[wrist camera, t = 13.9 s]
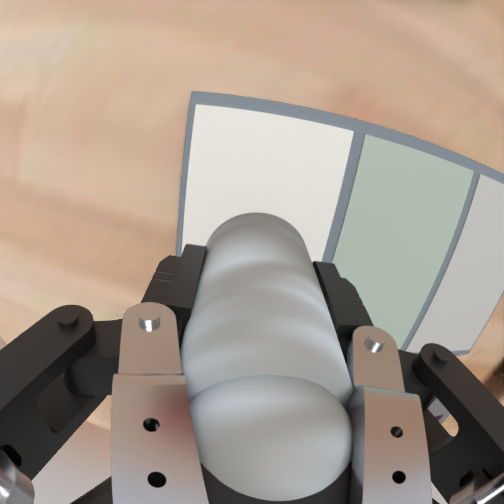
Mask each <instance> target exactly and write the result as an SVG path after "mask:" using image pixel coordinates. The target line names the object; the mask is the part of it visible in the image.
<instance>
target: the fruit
mask: <svg viewBox="0 0 504 504" xmlns="http://www.w3.org/2000/svg"><path fill="white" fill-rule="evenodd" d="M494 376H502V377H503V380H504V371H503V372H502V373H500V374H494ZM503 384H504V382H503Z"/></svg>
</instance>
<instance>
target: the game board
mask: <svg viewBox="0 0 504 504" xmlns="http://www.w3.org/2000/svg"><path fill="white" fill-rule="evenodd" d="M253 212H260V213H268V214H272V215H275V216H278V217H280V218H282V219H284V220H286V221H287V222H289V223H290V224H291V225H292V226H294V227H295V228H296V230H297V231H298V232H299V233H300V235H301V236H302V238H303V240H304V242H305V245H306V248H307V250H308V253H309V256H310V259H311V261H312V263H313V261H320V262H328V263H334V264H335V266H336V268H337V270H338V272H339V274H340V276H341V278H346V279H347V280H348V281H349V282H351V283H352V284H353V285H354V286H355V288H356V290H357V292H358V294H359V297H360V298H361V300H362V302H363V305H364V306H365V308H366V310H367V312H368V314H369V316H370V318H371V321H372V323H373V325H374V327H378V328H380V329H382V330H384V331H386V332H387V333H388V334H390V335H391V336H392V337H393V339H394V340H395V342H396V344H397V349H400V350H403V351H407V352H411V353H415V354H418V353H419V352H420V350H421V348H422V347H423V346H424V345H425V344H428V343H435V344H439V345H442V346H444V347H445V348H447V349H448V350H450V351H451V352H452V353H453V354H454V355H463V354H468V353H469V352H470V350H471V349H472V347H473V345H474V344H475V342H476V341H477V339H478V337H479V336H480V334H481V333H482V331H483V329H484V327H485V326H486V324H487V322H488V321H489V319H490V317H491V315H492V314H493V312H494V310H495V308H496V306H497V304H498V303H499V301H500V299H501V297H502V295H503V293H504V174H502V173H500V172H498V171H496V170H494V169H492V168H490V167H488V166H486V165H483V164H481V163H479V162H477V161H474V160H472V159H470V158H468V157H465V156H463V155H460V154H458V153H456V152H453V151H451V150H448V149H446V148H443V147H440V146H438V145H435V144H432V143H430V142H427V141H424V140H421V139H419V138H416V137H413V136H410V135H407V134H404V133H401V132H398V131H395V130H392V129H388V128H385V127H382V126H379V125H375V124H372V123H368V122H365V121H361V120H357V119H354V118H350V117H346V116H342V115H338V114H334V113H330V112H325V111H321V110H317V109H312V108H307V107H302V106H297V105H292V104H287V103H281V102H276V101H270V100H264V99H257V98H251V97H244V96H236V95H228V94H219V93H209V92H198V91H191V98H190V106H189V113H188V121H187V129H186V138H185V147H184V157H183V167H182V178H181V189H180V202H179V216H178V232H177V250H176V256H178V257H181V255H182V252H183V250H184V247H185V245H186V244H193V245H201V246H206V244H207V242H208V240H209V238H210V236H211V235H212V233H213V232H214V231H215V230H216V229H217V228H218V227H219V226H220V225H221V224H222V223H224V222H225V221H227V220H228V219H230V218H232V217H235V216H237V215H241V214H245V213H253Z"/></svg>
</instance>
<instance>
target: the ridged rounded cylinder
mask: <svg viewBox="0 0 504 504" xmlns="http://www.w3.org/2000/svg"><path fill="white" fill-rule="evenodd" d="M206 246H207V251H206V255H205V259H204V263H203V267H202V271H201V275H200V279H199V283H198V287H197V292H196V296H195V300H194V304H193V309H192V313H191V317H190V319H189V321H188V323H187V325H186V328H185V331H184V335H183V339H182V343H181V348H180V360H181V368H182V373H184V375H185V379H186V386H187V392H188V399H189V405H190V411H191V417H192V423H193V429H194V434H195V440H196V445H197V450H198V456H199V461H200V462H201V463H202V464H203V465H204V467H205V468H206V469H207V470H208V471H210V472H211V473H212V474H213V475H214V476H215V477H216V478H217V479H218V480H219V481H221V482H222V483H223V484H225V485H227V486H228V487H230V488H232V489H233V490H235V491H237V492H239V493H242V494H245V495H247V496H250V497H254V498H258V499H263V500H270V501H289V500H295V499H300V498H303V497H307V496H310V495H312V494H315V493H317V492H319V491H321V490H323V489H324V488H326V487H327V486H329V485H330V484H331V483H333V482H334V481H335V480H336V479H337V478H338V477H339V476H340V474H341V473H342V472H343V471H344V470H345V469H346V467H347V465H348V464H349V463H350V462H352V457H353V435H352V424H351V420H350V418H349V416H348V414H347V412H346V410H345V408H344V406H345V405H346V403H347V402H348V400H349V398H350V397H351V395H352V393H353V392H354V390H353V387H352V383H351V379H350V376H349V372H348V369H347V366H346V363H345V359H344V356H343V353H342V350H341V347H340V344H339V341H338V337H337V334H336V331H335V328H334V325H333V322H332V319H331V316H330V313H329V310H328V307H327V304H326V301H325V298H324V296H323V293H322V290H321V287H320V284H319V281H318V278H317V275H316V273H315V270H314V267H313V264H312V261H311V259H310V256H309V253H308V250H307V248H306V245H305V242H304V240H303V238H302V236H301V235H300V233H299V232H298V231H297V230H296V228H295V227H294V226H292V225H291V224H290V223H289V222H287V221H286V220H284V219H282V218H280V217H278V216H275V215H272V214H268V213H260V212H253V213H245V214H241V215H237V216H235V217H232V218H230V219H228V220H227V221H225V222H224V223H222V224H221V225H220V226H219V227H218V228H217V229H216V230H215V231H214V232H213V233H212V235H211V236H210V238H209V240H208V242H207V244H206Z"/></svg>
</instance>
